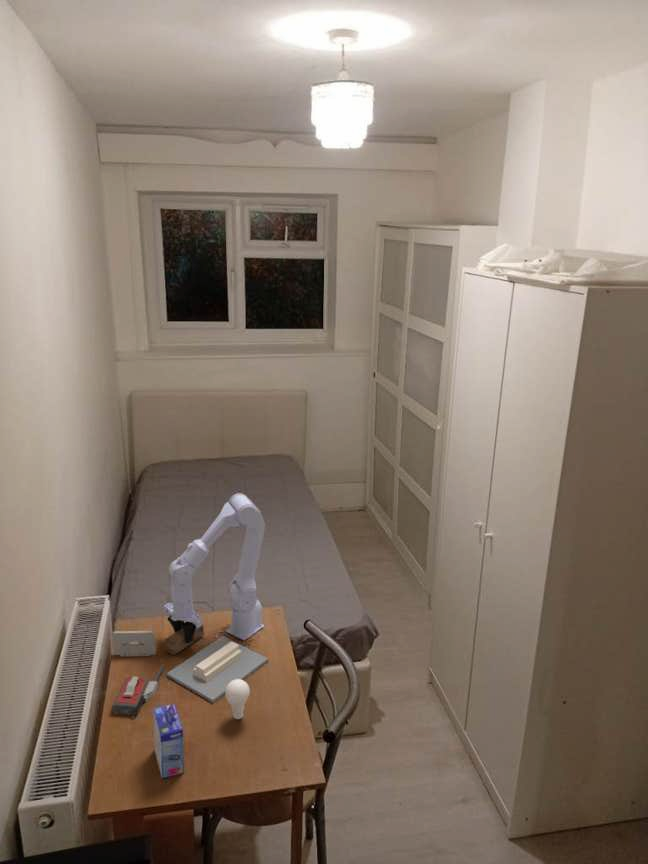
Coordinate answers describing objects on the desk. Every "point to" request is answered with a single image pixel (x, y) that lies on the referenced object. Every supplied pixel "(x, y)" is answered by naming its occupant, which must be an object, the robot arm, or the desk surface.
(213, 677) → the ridge stand
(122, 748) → the desk surface
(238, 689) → the lightbulb
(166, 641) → the walnut bar
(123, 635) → the cassette
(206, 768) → the desk surface
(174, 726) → the ink cartridge box
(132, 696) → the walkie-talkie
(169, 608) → the robot arm
